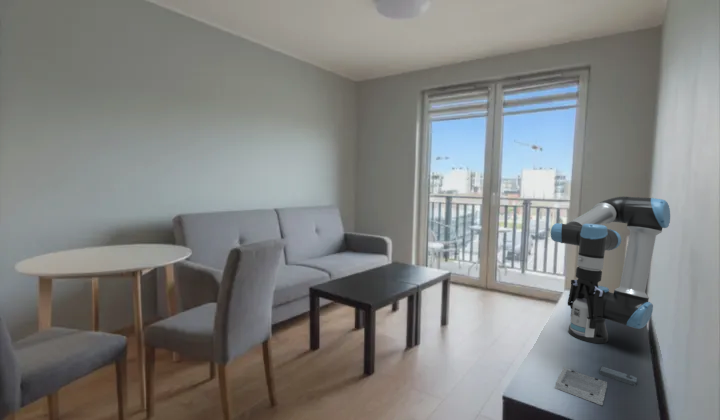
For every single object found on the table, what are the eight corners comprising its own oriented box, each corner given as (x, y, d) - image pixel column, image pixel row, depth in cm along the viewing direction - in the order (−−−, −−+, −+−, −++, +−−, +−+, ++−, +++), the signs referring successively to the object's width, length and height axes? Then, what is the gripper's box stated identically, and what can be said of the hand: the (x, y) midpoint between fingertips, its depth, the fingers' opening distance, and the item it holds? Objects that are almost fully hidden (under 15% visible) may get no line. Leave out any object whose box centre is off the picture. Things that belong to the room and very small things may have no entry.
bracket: (601, 370, 131) (601, 365, 131) (636, 382, 124) (637, 377, 124) (599, 375, 128) (600, 369, 128) (635, 387, 121) (636, 381, 121)
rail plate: (562, 372, 127) (563, 367, 127) (606, 387, 119) (607, 382, 119) (555, 388, 117) (555, 382, 117) (602, 405, 109) (603, 399, 109)
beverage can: (596, 339, 121) (600, 304, 120) (574, 335, 122) (578, 302, 121) (587, 331, 128) (591, 298, 127) (566, 328, 129) (570, 296, 128)
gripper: (560, 261, 133) (553, 320, 134) (600, 275, 113) (591, 344, 115) (579, 262, 133) (572, 321, 135) (622, 276, 114) (613, 345, 115)
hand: (581, 331), depth 125 cm, fingers closed on beverage can, 7 cm apart
